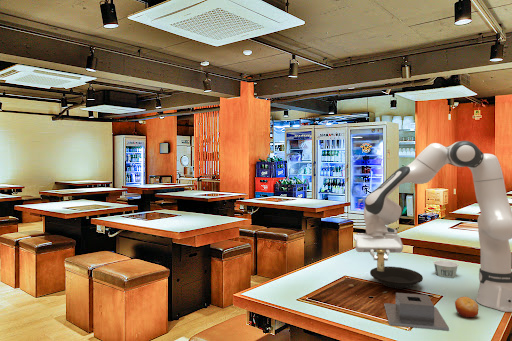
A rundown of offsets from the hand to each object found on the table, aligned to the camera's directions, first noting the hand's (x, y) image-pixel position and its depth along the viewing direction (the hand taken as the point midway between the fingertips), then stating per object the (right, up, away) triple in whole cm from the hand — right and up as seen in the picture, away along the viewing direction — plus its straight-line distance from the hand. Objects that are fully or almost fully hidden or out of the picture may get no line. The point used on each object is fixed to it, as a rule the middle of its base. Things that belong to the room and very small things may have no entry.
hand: (381, 259), depth 164 cm
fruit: (+28, -18, -17) cm, 37 cm away
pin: (0, -5, +1) cm, 5 cm away
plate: (+14, -18, +20) cm, 30 cm away
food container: (+47, -17, +37) cm, 62 cm away
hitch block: (+7, -18, -18) cm, 26 cm away
